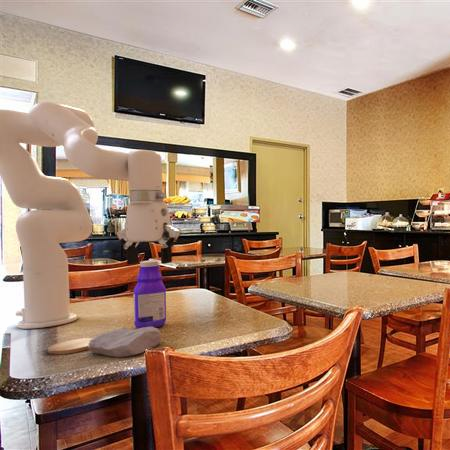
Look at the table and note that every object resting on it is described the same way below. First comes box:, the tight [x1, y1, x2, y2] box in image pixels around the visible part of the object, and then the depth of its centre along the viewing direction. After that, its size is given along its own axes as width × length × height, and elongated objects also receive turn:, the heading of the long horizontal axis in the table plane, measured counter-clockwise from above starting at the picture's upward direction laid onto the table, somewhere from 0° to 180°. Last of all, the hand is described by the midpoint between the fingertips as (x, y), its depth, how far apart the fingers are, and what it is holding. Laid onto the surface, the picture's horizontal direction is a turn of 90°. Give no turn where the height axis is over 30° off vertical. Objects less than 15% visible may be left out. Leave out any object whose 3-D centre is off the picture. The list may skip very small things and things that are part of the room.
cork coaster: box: [47, 337, 94, 355], centre depth 91 cm, size 9×9×1 cm
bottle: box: [132, 260, 167, 329], centre depth 107 cm, size 7×6×17 cm
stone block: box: [87, 327, 162, 358], centre depth 89 cm, size 12×5×10 cm
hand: (149, 263), depth 107 cm, fingers open, 9 cm apart
